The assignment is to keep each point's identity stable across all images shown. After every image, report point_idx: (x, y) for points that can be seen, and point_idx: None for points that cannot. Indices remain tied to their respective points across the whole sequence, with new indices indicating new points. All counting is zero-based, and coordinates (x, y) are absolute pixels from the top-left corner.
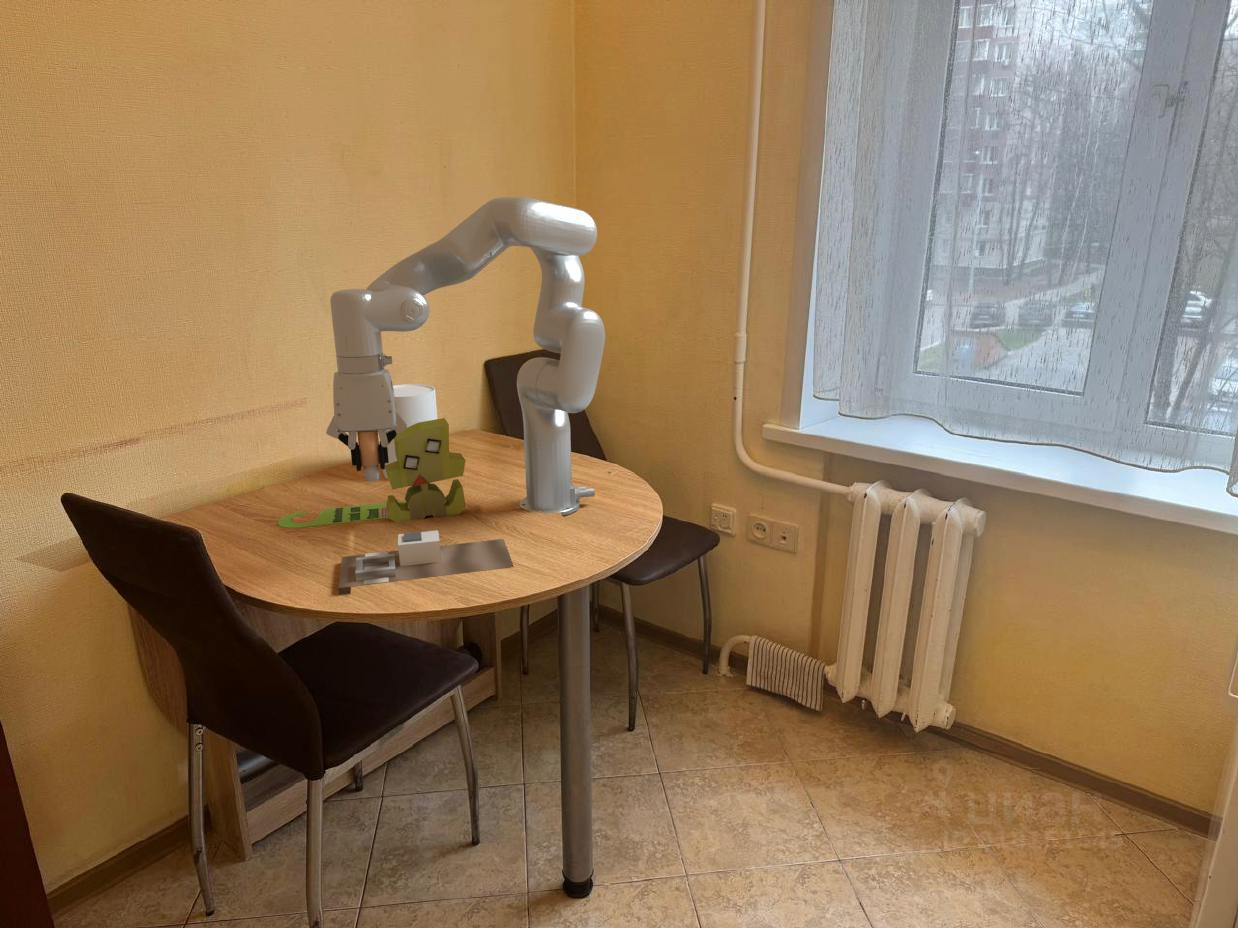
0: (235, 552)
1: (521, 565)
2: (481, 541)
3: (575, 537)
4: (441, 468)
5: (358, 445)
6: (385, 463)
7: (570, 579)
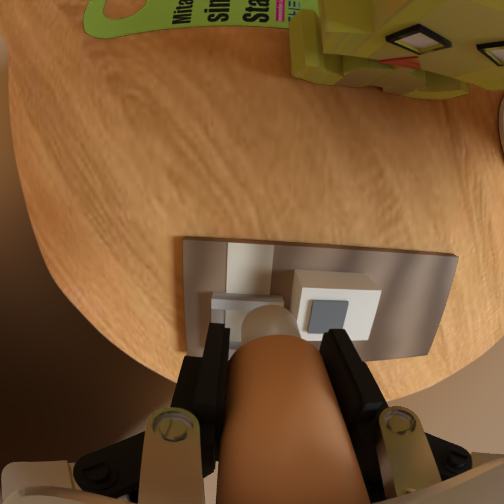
0: (26, 136)
1: (439, 329)
2: (432, 256)
3: None
4: (470, 71)
5: (215, 401)
6: None
7: (454, 371)
